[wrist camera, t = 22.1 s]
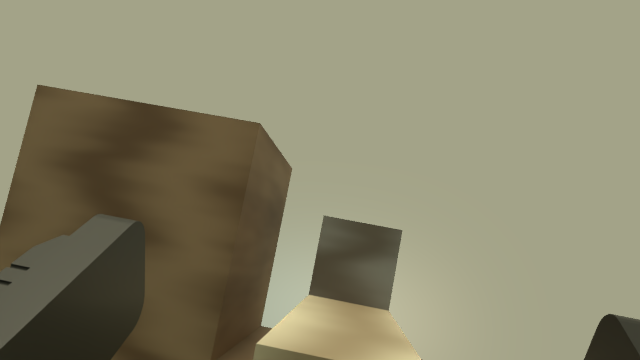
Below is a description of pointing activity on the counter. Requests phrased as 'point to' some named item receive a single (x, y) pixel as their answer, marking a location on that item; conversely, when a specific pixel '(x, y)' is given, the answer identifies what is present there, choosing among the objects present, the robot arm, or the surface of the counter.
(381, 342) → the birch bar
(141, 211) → the walnut step stand
